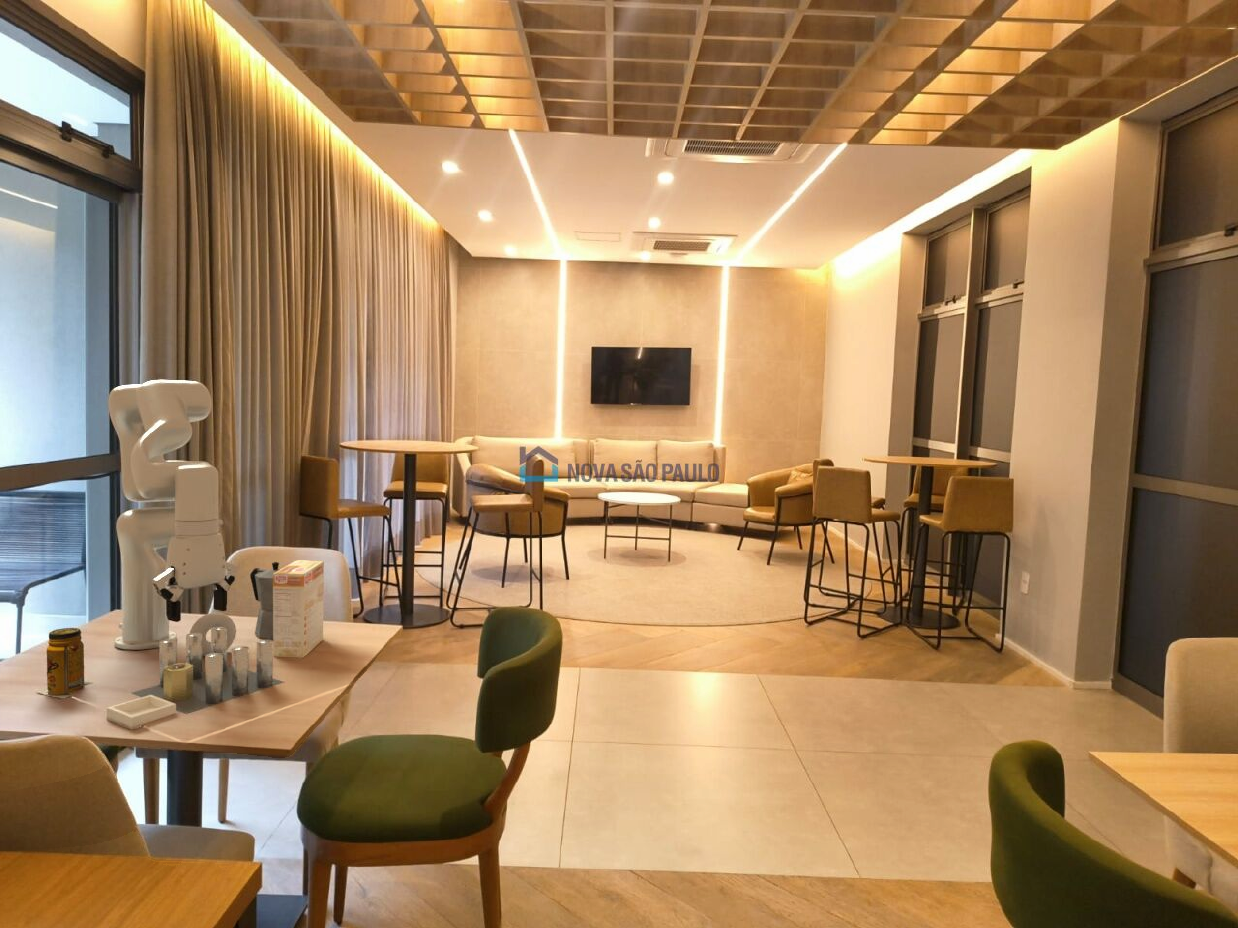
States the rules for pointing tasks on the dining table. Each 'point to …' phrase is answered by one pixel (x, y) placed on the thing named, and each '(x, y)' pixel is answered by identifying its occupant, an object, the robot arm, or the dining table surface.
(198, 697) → the mat
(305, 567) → the coffeecake box
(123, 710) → the dish
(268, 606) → the coffeepot
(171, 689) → the amber perfume bottle
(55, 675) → the condiment
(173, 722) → the dining table surface
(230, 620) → the donut
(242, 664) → the silver peg rack
